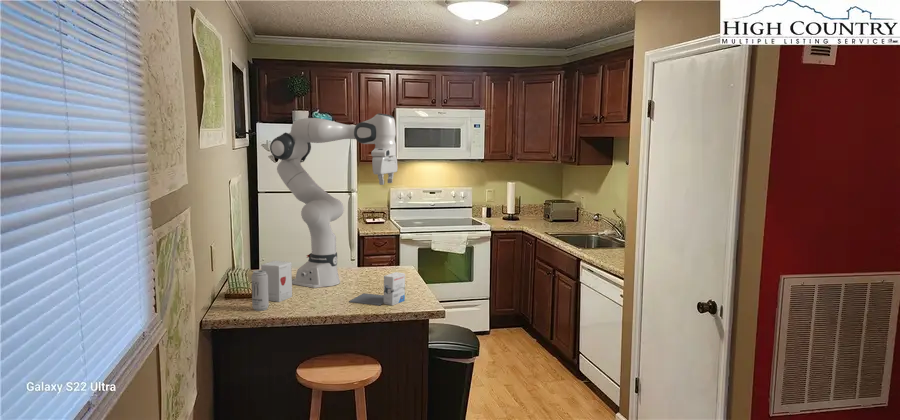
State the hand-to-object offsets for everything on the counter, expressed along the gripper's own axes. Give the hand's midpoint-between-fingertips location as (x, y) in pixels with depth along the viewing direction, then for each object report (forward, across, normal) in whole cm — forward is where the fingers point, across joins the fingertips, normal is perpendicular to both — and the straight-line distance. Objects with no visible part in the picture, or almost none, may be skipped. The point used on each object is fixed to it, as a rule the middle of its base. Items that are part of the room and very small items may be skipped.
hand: (386, 183), depth 248 cm
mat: (+47, +16, -1) cm, 50 cm away
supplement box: (+47, +26, -39) cm, 66 cm away
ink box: (+47, +17, +10) cm, 51 cm away
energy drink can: (+47, +41, -37) cm, 72 cm away
